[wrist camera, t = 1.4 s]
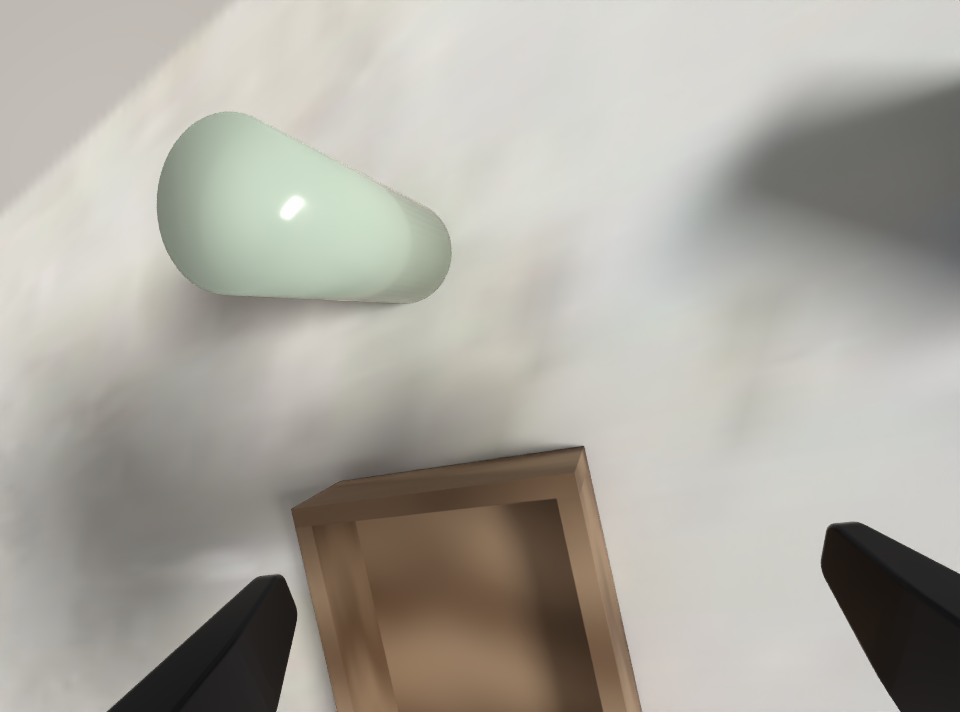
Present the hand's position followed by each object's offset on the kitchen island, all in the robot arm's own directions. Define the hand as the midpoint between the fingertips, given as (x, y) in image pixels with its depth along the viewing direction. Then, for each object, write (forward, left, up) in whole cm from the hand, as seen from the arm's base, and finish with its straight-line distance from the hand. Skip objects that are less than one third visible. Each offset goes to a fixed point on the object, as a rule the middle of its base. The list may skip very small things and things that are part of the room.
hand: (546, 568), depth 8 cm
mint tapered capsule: (+9, +7, -12) cm, 16 cm away
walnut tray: (-7, +7, -12) cm, 16 cm away
